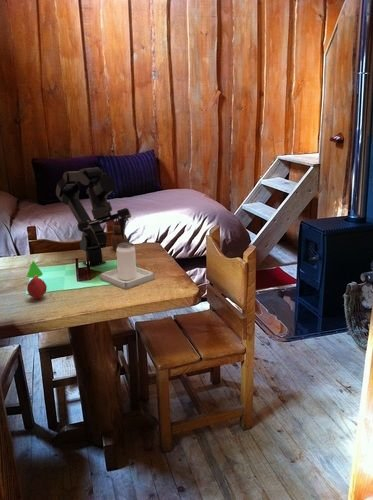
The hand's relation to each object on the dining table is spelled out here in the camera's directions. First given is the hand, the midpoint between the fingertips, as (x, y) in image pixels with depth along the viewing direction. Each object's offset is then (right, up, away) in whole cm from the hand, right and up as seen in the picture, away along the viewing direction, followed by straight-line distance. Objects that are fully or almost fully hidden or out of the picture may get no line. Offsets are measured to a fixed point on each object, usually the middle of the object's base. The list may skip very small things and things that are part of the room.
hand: (111, 243), depth 163 cm
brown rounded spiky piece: (-1, -3, +31) cm, 31 cm away
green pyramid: (-29, -12, +5) cm, 31 cm away
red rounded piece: (-21, -18, -16) cm, 32 cm away
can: (+6, -12, -1) cm, 14 cm away
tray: (+6, -13, -1) cm, 14 cm away
